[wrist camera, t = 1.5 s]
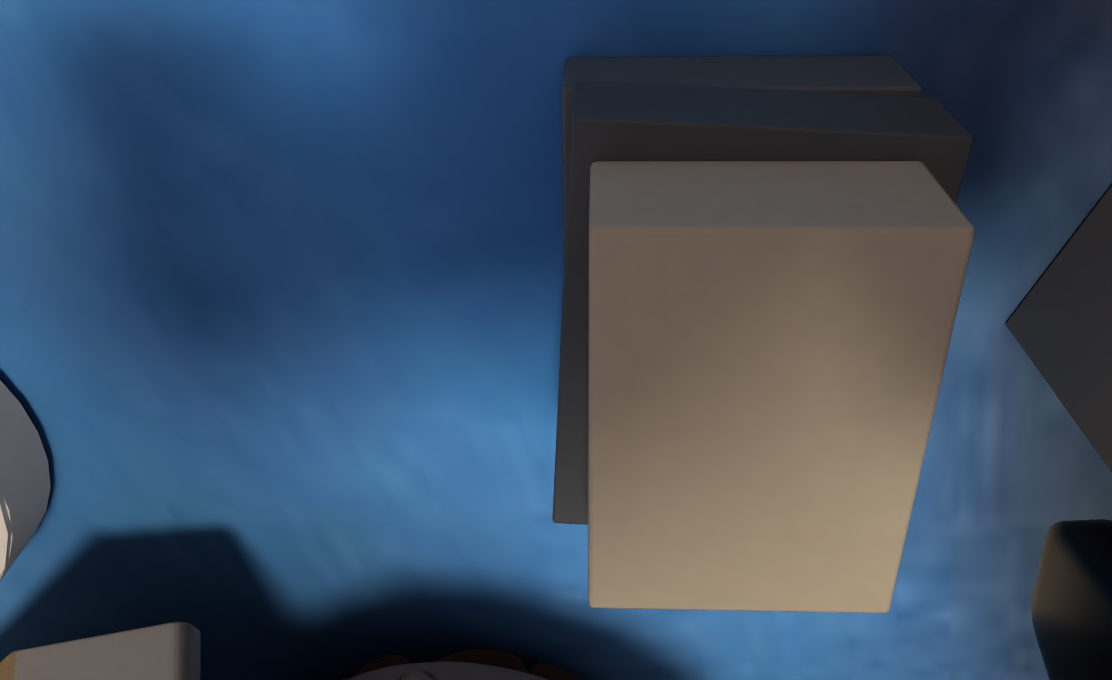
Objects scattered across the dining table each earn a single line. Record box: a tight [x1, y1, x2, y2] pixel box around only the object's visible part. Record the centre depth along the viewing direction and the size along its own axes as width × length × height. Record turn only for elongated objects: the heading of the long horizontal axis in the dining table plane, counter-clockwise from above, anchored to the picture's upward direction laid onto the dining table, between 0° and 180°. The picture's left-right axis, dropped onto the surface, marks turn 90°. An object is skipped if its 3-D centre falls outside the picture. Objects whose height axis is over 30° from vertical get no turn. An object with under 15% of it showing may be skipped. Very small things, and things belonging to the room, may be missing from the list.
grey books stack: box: [553, 56, 973, 525], centre depth 18 cm, size 8×6×4 cm
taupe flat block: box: [588, 161, 975, 613], centre depth 15 cm, size 7×5×2 cm
